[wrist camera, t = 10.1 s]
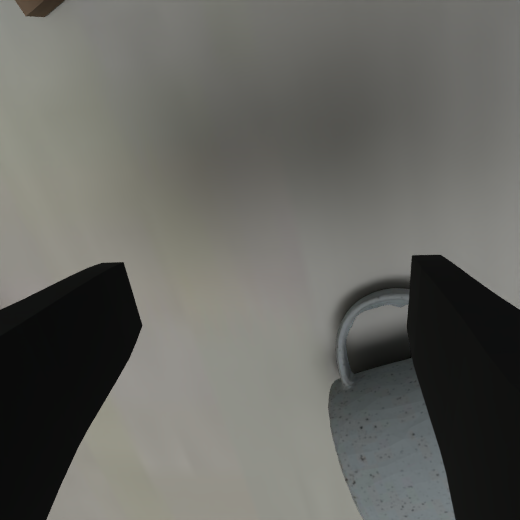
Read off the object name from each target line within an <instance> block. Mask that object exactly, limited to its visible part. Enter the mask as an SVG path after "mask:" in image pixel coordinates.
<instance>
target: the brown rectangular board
mask: <svg viewBox="0 0 520 520" xmlns="http://www.w3.org/2000/svg"><path fill="white" fill-rule="evenodd" d="M15 1H16V2H17V4H18V5H19V7H20V8H21V10H22V11H23V13H24V14H25V16H34V17H45V16H46V15H48V14H49V13H50V12H51V11H52V10H54V9H55V8H56V7H57V6H58V5H60V4H61V3H62V2H63V1H64V0H15Z"/></svg>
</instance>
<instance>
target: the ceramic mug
mask: <svg viewBox="0 0 520 520" xmlns="http://www.w3.org/2000/svg"><path fill="white" fill-rule="evenodd" d="M409 291H410V289H403V288H389V289H384V290H380V291H377V292H373V293H371V294H369V295H367V296H365V297H363V298H361V299H360V300H358V301H357V302H356V303H355V304H354V305H353V306H352V307H351V308H350V309H349V310H348V312H347V313H346V314H345V316H344V318H343V320H342V322H341V325H340V327H339V330H338V334H337V340H336V360H337V365H338V370H339V374H340V377H341V378H340V379H338V380H336V381H335V382H334V383H333V384H332V386H331V389H330V393H329V403H328V410H329V417H330V427H331V432H332V437H333V441H334V444H335V449H336V452H337V455H338V459H339V463H340V466H341V469H342V472H343V475H344V478H345V481H346V483H347V485H348V487H349V490H350V493H351V495H352V498H353V500H354V502H355V504H356V506H357V509H358V511H359V513H360V515H361V516H362V518H363V520H455V515H454V510H453V505H452V501H451V496H450V491H449V486H448V481H447V476H446V471H445V468H444V464H443V460H442V456H441V453H440V449H439V446H438V443H437V439H436V436H435V433H434V430H433V427H432V424H431V420H430V417H429V414H428V411H427V408H426V404H425V401H424V398H423V395H422V392H421V388H420V385H419V382H418V378H417V375H416V372H415V369H414V365H413V360H412V358H409V359H406V360H402V361H398V362H394V363H391V364H387V365H383V366H380V367H376V368H373V369H369V370H366V371H363V372H360V373H356V374H353V372H352V371H351V368H350V365H349V361H348V356H347V349H346V337H347V335H348V332H349V329H350V328H351V327H352V324H353V322H354V320H355V318H356V316H357V315H359V314H360V313H361V312H363V311H366V310H369V309H373V308H376V307H380V306H384V305H393V306H397V307H402V306H404V305H406V304H409Z"/></svg>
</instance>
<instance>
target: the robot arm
mask: <svg viewBox="0 0 520 520" xmlns="http://www.w3.org/2000/svg"><path fill="white" fill-rule="evenodd" d="M141 328H142V323H141V319H140V316H139V313H138V309H137V306H136V303H135V299H134V296H133V292H132V289H131V286H130V282H129V279H128V276H127V272H126V269H125V266H124V262H117V263H101V264H98V265H94V266H92V267H89V268H87V269H85V270H82V271H80V272H78V273H76V274H74V275H72V276H69V277H67V278H65V279H63V280H61V281H59V282H57V283H55V284H53V285H51V286H49V287H47V288H45V289H43V290H41V291H39V292H37V293H35V294H33V295H31V296H29V297H27V298H25V299H23V300H21V301H19V302H16V303H14V304H12V305H10V306H8V307H6V308H3V309H1V310H0V520H46V519H47V517H48V514H49V512H50V510H51V507H52V505H53V502H54V500H55V498H56V495H57V493H58V490H59V488H60V486H61V484H62V481H63V479H64V477H65V475H66V473H67V470H68V468H69V466H70V464H71V462H72V460H73V457H74V455H75V453H76V451H77V449H78V447H79V445H80V443H81V441H82V439H83V437H84V436H85V434H86V432H87V430H88V428H89V427H90V425H91V423H92V422H93V420H94V418H95V416H96V415H97V413H98V411H99V410H100V408H101V406H102V405H103V403H104V401H105V400H106V398H107V396H108V394H109V393H110V391H111V389H112V388H113V386H114V384H115V383H116V381H117V379H118V377H119V376H120V374H121V372H122V370H123V369H124V367H125V365H126V363H127V362H128V360H129V358H130V356H131V353H132V351H133V349H134V346H135V344H136V341H137V339H138V336H139V333H140V330H141ZM407 331H408V337H409V343H410V349H411V355H412V360H413V365H414V369H415V372H416V375H417V378H418V382H419V385H420V388H421V392H422V395H423V398H424V401H425V404H426V408H427V411H428V414H429V417H430V420H431V424H432V427H433V430H434V433H435V436H436V439H437V443H438V446H439V449H440V453H441V456H442V460H443V464H444V468H445V471H446V476H447V481H448V486H449V491H450V496H451V501H452V505H453V510H454V515H455V520H520V310H519V309H518V308H516V307H515V306H513V305H511V304H510V303H508V302H507V301H505V300H504V299H502V298H501V297H499V296H498V295H496V294H495V293H493V292H492V291H491V290H489V289H488V288H486V287H485V286H483V285H482V284H481V283H479V282H478V281H476V280H475V279H474V278H472V277H471V276H470V275H468V274H467V273H465V272H464V271H463V270H461V269H460V268H459V267H457V266H456V265H455V264H453V263H452V262H450V261H449V260H448V259H446V258H445V257H443V256H441V255H412V263H411V277H410V291H409V305H408V320H407Z"/></svg>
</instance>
